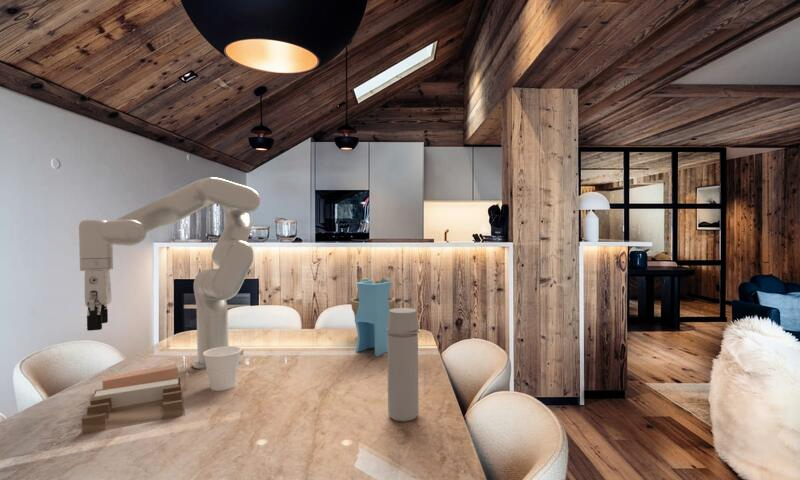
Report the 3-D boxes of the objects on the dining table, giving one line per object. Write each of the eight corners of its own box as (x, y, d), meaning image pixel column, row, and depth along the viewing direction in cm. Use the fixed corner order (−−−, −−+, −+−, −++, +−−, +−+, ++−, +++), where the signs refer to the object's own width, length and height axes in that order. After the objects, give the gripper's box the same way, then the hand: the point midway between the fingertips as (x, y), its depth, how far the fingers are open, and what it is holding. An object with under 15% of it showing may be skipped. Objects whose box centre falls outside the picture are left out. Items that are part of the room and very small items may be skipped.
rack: (93, 407, 109) (92, 390, 109) (182, 392, 118) (182, 376, 118) (79, 440, 92) (79, 419, 92) (185, 420, 101) (184, 401, 101)
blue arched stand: (392, 349, 160) (392, 281, 159) (377, 355, 151) (376, 284, 151) (371, 345, 165) (370, 280, 164) (355, 351, 157) (354, 283, 156)
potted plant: (345, 341, 172) (344, 278, 172) (358, 330, 191) (357, 273, 190) (391, 342, 169) (390, 278, 169) (399, 331, 188) (398, 274, 187)
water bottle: (409, 426, 97) (408, 314, 96) (380, 418, 101) (379, 311, 100) (429, 411, 104) (428, 308, 104) (401, 404, 109) (400, 305, 108)
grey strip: (178, 391, 116) (178, 378, 116) (178, 396, 112) (178, 383, 112) (96, 405, 107) (96, 391, 107) (94, 411, 104) (94, 396, 104)
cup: (249, 386, 123) (249, 347, 123) (225, 399, 114) (224, 357, 113) (221, 382, 126) (220, 345, 126) (195, 395, 117) (194, 354, 117)
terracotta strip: (175, 381, 129) (175, 364, 129) (178, 384, 126) (177, 367, 125) (102, 395, 118) (101, 377, 118) (103, 399, 115) (102, 381, 115)
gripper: (107, 266, 113) (109, 331, 114) (117, 262, 129) (118, 319, 129) (72, 267, 110) (74, 334, 110) (86, 263, 126) (87, 322, 126)
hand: (97, 326), depth 120 cm, fingers open, 9 cm apart
